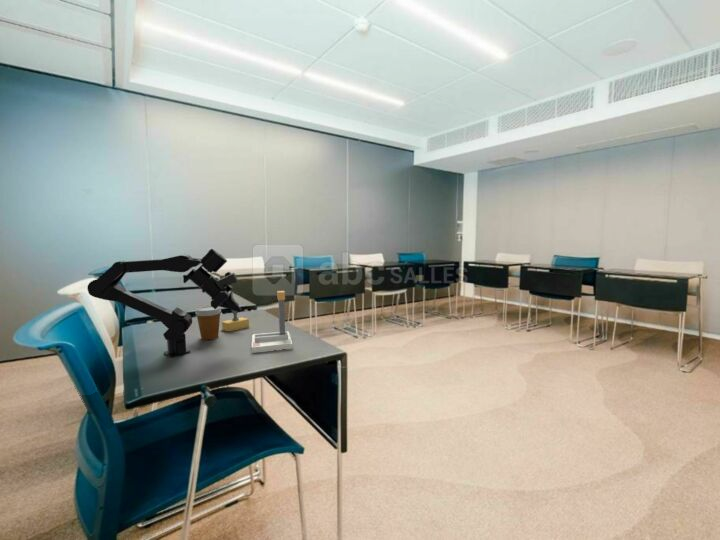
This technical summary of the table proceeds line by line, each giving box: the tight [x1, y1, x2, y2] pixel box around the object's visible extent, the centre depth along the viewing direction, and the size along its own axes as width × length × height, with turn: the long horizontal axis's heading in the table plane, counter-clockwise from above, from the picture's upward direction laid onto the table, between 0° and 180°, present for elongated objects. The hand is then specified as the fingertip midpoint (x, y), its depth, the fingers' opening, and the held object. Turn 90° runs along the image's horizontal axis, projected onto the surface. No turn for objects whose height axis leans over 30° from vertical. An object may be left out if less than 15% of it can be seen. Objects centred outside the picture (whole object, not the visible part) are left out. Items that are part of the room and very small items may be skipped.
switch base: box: [251, 330, 293, 354], centre depth 125 cm, size 14×16×4 cm
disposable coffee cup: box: [194, 305, 222, 341], centre depth 133 cm, size 10×10×12 cm
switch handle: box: [276, 290, 286, 335], centre depth 126 cm, size 3×3×18 cm
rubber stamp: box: [221, 301, 250, 332], centre depth 146 cm, size 10×6×12 cm, turn 140°
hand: (240, 310), depth 121 cm, fingers closed
